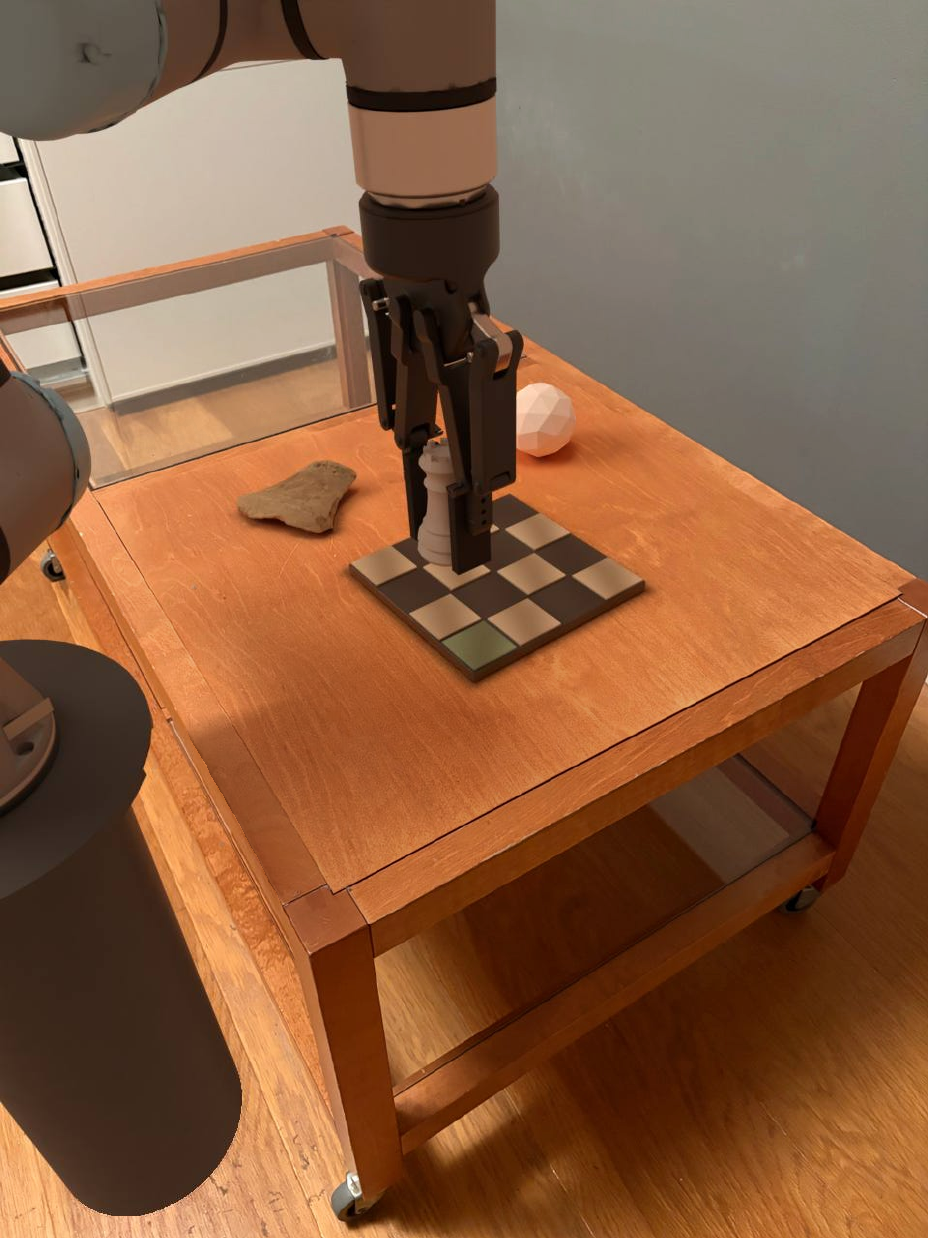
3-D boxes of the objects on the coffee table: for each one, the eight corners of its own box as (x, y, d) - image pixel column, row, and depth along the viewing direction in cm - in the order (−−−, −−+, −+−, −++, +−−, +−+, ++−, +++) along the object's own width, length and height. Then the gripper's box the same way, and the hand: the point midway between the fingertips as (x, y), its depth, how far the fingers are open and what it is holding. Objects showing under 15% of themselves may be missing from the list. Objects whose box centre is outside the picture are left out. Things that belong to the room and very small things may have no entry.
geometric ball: (531, 463, 108) (534, 392, 107) (588, 459, 102) (592, 385, 102) (486, 454, 102) (490, 379, 102) (545, 450, 97) (549, 371, 96)
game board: (473, 683, 76) (473, 672, 75) (349, 572, 88) (347, 562, 87) (645, 590, 84) (646, 579, 84) (509, 501, 97) (509, 491, 96)
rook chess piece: (439, 577, 63) (430, 472, 58) (406, 546, 66) (395, 443, 61) (495, 554, 64) (491, 450, 59) (460, 525, 67) (454, 423, 62)
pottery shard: (327, 551, 93) (372, 482, 98) (313, 520, 90) (360, 450, 95) (239, 533, 97) (287, 467, 103) (222, 502, 94) (273, 436, 99)
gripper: (591, 208, 46) (575, 588, 61) (399, 144, 57) (424, 478, 72) (466, 242, 43) (481, 634, 58) (288, 168, 54) (339, 512, 69)
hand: (449, 547), depth 65 cm, fingers closed on rook chess piece, 4 cm apart
